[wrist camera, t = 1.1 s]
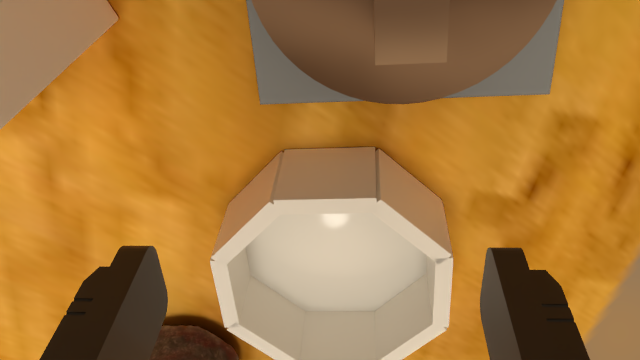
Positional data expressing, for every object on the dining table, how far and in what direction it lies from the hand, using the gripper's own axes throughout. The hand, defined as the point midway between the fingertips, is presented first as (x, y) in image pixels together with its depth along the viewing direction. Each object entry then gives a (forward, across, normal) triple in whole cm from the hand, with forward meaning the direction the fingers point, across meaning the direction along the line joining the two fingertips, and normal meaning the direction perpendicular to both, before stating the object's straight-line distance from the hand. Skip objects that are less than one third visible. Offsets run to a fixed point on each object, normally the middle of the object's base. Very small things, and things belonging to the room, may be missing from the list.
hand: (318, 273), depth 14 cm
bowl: (+18, +1, +14) cm, 23 cm away
